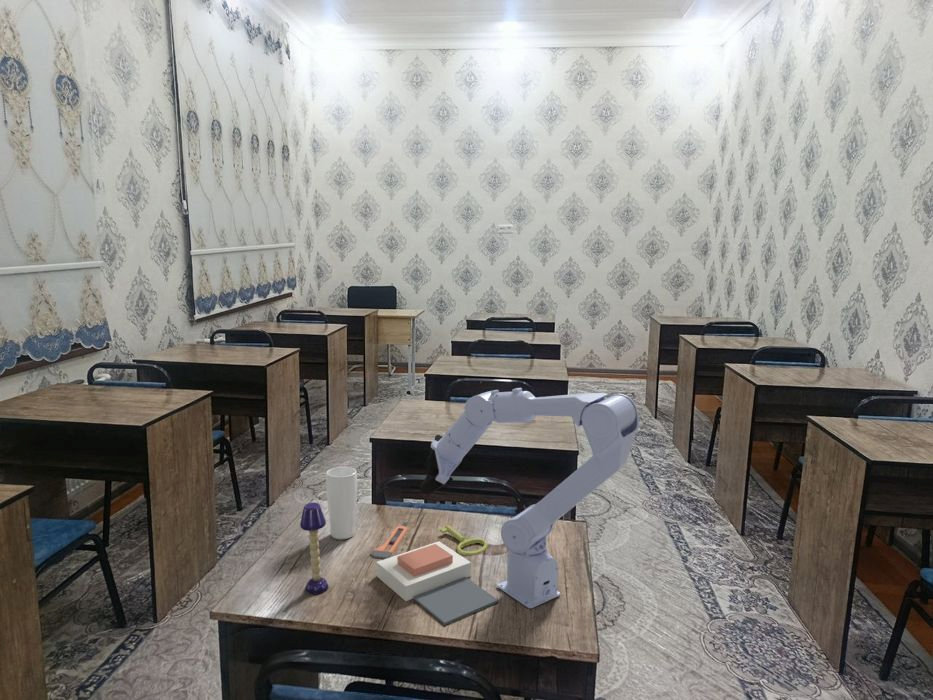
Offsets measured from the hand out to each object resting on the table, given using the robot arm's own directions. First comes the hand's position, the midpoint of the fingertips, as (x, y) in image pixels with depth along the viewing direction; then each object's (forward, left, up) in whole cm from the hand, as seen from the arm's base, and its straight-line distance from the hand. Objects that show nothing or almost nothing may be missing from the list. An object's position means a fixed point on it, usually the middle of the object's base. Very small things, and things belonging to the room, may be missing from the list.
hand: (427, 478), depth 130 cm
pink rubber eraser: (-8, +6, -13) cm, 17 cm away
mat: (-18, +6, -17) cm, 25 cm away
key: (-1, -9, -17) cm, 19 cm away
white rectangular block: (-8, +6, -16) cm, 19 cm away
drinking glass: (+18, +11, -17) cm, 27 cm away
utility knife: (+10, +3, -17) cm, 20 cm away
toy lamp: (+1, +25, -17) cm, 30 cm away
